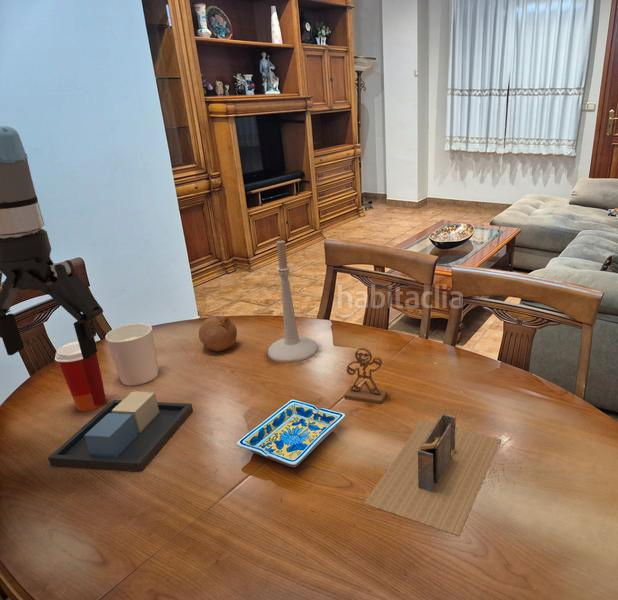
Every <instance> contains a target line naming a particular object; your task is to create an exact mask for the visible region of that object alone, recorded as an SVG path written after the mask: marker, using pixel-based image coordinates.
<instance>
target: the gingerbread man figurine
mask: <svg viewBox="0 0 618 600" xmlns="http://www.w3.org/2000/svg"><path fill="white" fill-rule="evenodd" d="M359 351H365V353H363V352H359ZM363 356H364V358H363ZM354 357H355V359H356V360H353V361H351V362H349V363H348V365H347V367H346V373H347V374H348V375H349V376H354V375H355V374H356V373H357V378H356V380H355V381H354V383H353V385H350V386H349V387H348V388H347V390H346V391H345V393H344V394H343V398H344V399H346V400H351V401H358V402H366V403H372V404H376V405H377V404H378V405H382V404H383V403H384V402H385V400H386V398H387V397H388V392H387V390H383V389H382V390H381V389H379V387H378V386H377V384H376V383H375V381H374V379H373V377H372V373H373V372H377V371H378V370H379V369H380V368H381V367H382V363H383V360H382V358H380V357H379V356H376V357H374V358H373V354H372V352H371V351H370V350H369V349H368V348H366V347H358V348H357V350H356V351H355V353H354ZM372 358H373V359H372ZM371 360H372V362H371ZM352 364H353V365H354V364H359V367H355V368H353V367H351V365H352ZM374 364H375V365H377V366H378V367H377V368H374V369H371V368H370V369H369V370H368V374H369V375H367V371H366V370H367V368H368V367H369V366H372V365H374ZM360 368H362V371H363V372H362V374H361V373H360ZM359 379H364V382H363V383H362V385H361V386H359V385H357V382H358V380H359ZM367 380H369V381H370V383H371V384H372V386H373V388H371V386H370V385H369V383H368V382H367ZM364 385H365V387H363V386H364Z"/></svg>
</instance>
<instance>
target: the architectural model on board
mask: <svg viewBox="0 0 618 600" xmlns="http://www.w3.org/2000/svg"><path fill="white" fill-rule="evenodd" d="M456 419H457V417H456V416H453V415H448V414H445V413H442V414H441V415H440V417H439V418H438V420H437V421H436V422H433V421H429V420H425V419H422V420H420V422H419V424H418V425H417V427H416V428H415V429H414V431H413V432H412V434H411V435H410V436H409V438H408V439H407V441H406V442H405V443H404V445H403V447H402V448H401V449H400V450H399V452H398V453H397V455H396V456H395V458H394V460H393V461H392V462H391V463H390V465H389V467H388V468H387V469H386V471H385V472H384V474H382V476H381V478H380V479H379V481H378V482H377V483H376V485H375V487H374V488H373V490H372V491H371V492H370V494H368V496H367V498H366V500H364V502H363V504H364V505H367V506H370V507H373V508H376V509H378V510H382V511H385V512H387V513H390V514H394V515H397V516H399V517H402V518H406V519H409V520H411V521H414V522H417V523H420V524H423V525H425V526H429V527H432V528H434V529H437V530H441V531H444V532H446V533H450V534H453V535H456V536H458V537H459V536H460V535H461V532H462V531H463V528H464V526H465V523H466V521H467V518H468V516H469V513H470V511H471V510H472V507H473V505H474V503H475V500H476V498H477V496H478V493H479V491H480V489H481V487H482V484H483V482H484V480H485V477H486V475H487V472H488V470H489V468H490V466H491V464H492V462H493V460H494V457H495V455H496V453H497V451H498V447H499V446H500V443H501V441H502V439H500V438H496V437H493V436H488V435H485V434H481V433H476V432H473V431H468V430H466V429H465V430H464V429H460V428H456V424H457V423H456Z"/></svg>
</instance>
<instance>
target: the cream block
mask: <svg viewBox="0 0 618 600" xmlns="http://www.w3.org/2000/svg"><path fill="white" fill-rule="evenodd" d="M157 402H158V400H157V396H156V392H154V391H153V392H152V391H133V390H132V391H131V392H130V393H129V394H128V395H127V396H126V397H125V398H123V401H121V402H120V403H119V404H118V405H117V406H116V407H115V408H114V409H113V410H112V413H115V414H132V415H133V419H134V423H135V426H136V430H137V433H141V432H142V430H143V429H144V428H145V427H146V426H147V425H148V424H149V423H150V422H151V421H152V420H153V419H154V418H155V417H156V416H157V415H158V414H159V408H158V404H157Z"/></svg>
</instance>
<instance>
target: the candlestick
mask: <svg viewBox="0 0 618 600" xmlns="http://www.w3.org/2000/svg"><path fill="white" fill-rule="evenodd" d="M275 243H276V251H277V261H278V266H277V267H276V268H275V270H276V271H278V276H279V277H280V279H281V281H280V286H281V287H280V289H281V301H282V303H281V304H282V318H283V336H284V337H283V338H280V339H277V341H274V342H273V343H272V344H271V345H270V346H269V347H268V348H267V356H268V357H269V358H270V359H271V360H273V361H275V362H279V363H296V362H301V361H304V360H308V359H309V358H311V357H313V356H314V355H315V354H316V353H317V352H318V349H319V347H318V346H319V345H318V343H317V342H316V340H314V339H312V338H309V337H307V336H303V335H302V336H301V335H299V331H298V325H297V320H296V314H295V307H294V301H293V296H292V291H291V284H290V280H289V275H290V273H291V272H290V269H292V266H290V265H288V259H287V250H286V242H285V240H282V239H280V240H277V241H276V242H275Z"/></svg>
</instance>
